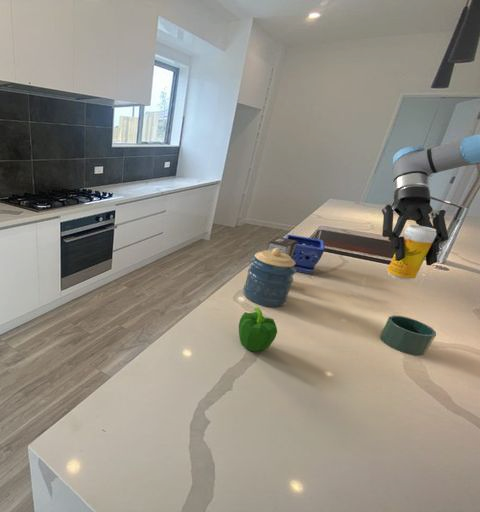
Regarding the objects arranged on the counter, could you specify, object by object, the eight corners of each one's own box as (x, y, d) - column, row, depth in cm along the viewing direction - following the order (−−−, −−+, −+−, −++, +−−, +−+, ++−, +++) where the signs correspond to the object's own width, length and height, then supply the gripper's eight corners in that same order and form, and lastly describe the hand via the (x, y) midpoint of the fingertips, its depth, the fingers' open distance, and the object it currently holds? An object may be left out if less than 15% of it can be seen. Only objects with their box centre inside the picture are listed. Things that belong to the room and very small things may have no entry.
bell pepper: (273, 360, 71) (284, 325, 68) (236, 351, 74) (245, 317, 70) (267, 339, 79) (277, 307, 75) (234, 332, 81) (242, 300, 77)
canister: (246, 284, 108) (258, 238, 101) (287, 295, 101) (303, 247, 94) (238, 299, 98) (251, 249, 91) (283, 312, 91) (301, 260, 84)
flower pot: (276, 268, 122) (284, 241, 117) (279, 258, 132) (286, 233, 127) (315, 277, 115) (325, 249, 110) (315, 266, 125) (324, 240, 120)
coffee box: (267, 274, 116) (278, 235, 110) (285, 281, 112) (298, 240, 105) (257, 281, 110) (268, 240, 104) (276, 288, 106) (289, 246, 100)
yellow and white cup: (380, 271, 91) (401, 224, 85) (402, 272, 90) (425, 225, 85) (396, 280, 86) (419, 230, 80) (419, 282, 85) (445, 232, 79)
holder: (414, 339, 81) (424, 320, 79) (432, 359, 74) (444, 340, 71) (374, 330, 84) (382, 312, 82) (388, 349, 77) (398, 330, 74)
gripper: (443, 203, 90) (450, 272, 82) (365, 196, 97) (365, 260, 89) (463, 188, 84) (474, 262, 76) (379, 182, 90) (380, 249, 83)
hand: (415, 261), depth 83 cm, fingers closed on yellow and white cup, 6 cm apart
